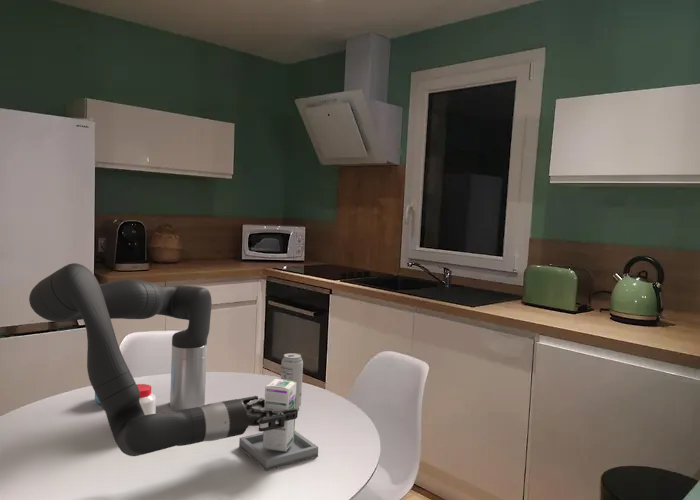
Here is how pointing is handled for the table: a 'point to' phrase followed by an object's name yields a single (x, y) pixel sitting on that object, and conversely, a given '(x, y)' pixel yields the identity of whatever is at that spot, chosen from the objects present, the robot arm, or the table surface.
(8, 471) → the table surface
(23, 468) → the table surface
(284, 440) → the syrup box
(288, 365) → the energy drink can
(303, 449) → the tray
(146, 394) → the pill bottle
